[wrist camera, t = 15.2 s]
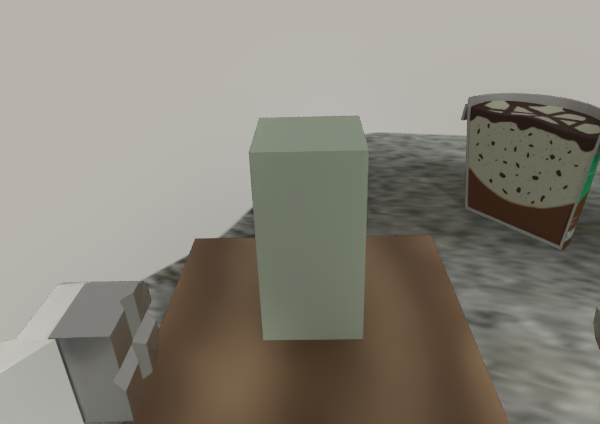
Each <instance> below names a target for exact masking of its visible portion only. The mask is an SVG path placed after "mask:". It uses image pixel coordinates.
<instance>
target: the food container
mask: <svg viewBox="0 0 600 424" xmlns="http://www.w3.org/2000/svg"><path fill="white" fill-rule="evenodd" d="M466 119H467V147H466V182H465V209H467V210H469V211H471V212H474V213H476V214H478V215H481V216H483V217H485V218H488V219H490V220H492V221H495V222H497V223H499V224H501V225H504V226H506V227H508V228H511V229H513V230H515V231H518V232H520V233H522V234H525V235H527V236H529V237H531V238H534V239H536V240H538V241H541V242H543V243H545V244H548V245H550V246H552V247H555V248H557V249H559V250H563V249H564V248H565V247H567V246H568V245H569V243H570V241H571V238H572V236H573V233H574V230H575V228H576V225H577V222H578V219H579V216H580V214H581V211H582V208H583V205H584V203H585V200H586V197H587V194H588V192H589V189H590V186H591V183H592V181H593V178H594V175H595V172H596V170H597V167H598V164H599V161H600V108H599V107H596V106H593V105H591V104H587V103H584V102H580V101H576V100H572V99H567V98H562V97H555V96H548V95H538V94H521V93H501V94H486V95H479V96H473V97H469V99H468V104H465V108H464V111H463V115H462V118H461V120H466Z"/></svg>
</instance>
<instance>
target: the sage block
mask: <svg viewBox="0 0 600 424" xmlns="http://www.w3.org/2000/svg"><path fill="white" fill-rule="evenodd" d="M249 160H250V173H251V187H252V199H253V213H254V226H255V239H256V252H257V265H258V279H259V292H260V305H261V318H262V331H263V340H333V339H363V320H364V288H365V256H366V224H367V192H368V160H369V149H368V146H367V142H366V139H365V135H364V131H363V128H362V124H361V121H360V117H359V116H325V117H284V118H283V117H280V118H259V121H258V124H257V127H256V131H255V134H254V137H253V141H252V144H251V147H250V151H249Z"/></svg>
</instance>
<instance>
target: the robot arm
mask: <svg viewBox="0 0 600 424" xmlns="http://www.w3.org/2000/svg"><path fill="white" fill-rule="evenodd" d="M150 303H151V297H150V293H149V290H148V286H147V285H146V284H145V283H144V282H143V281H119V282H70V283H62V284H59V285H57V286H56V287H55V288H54V290H53V291H52V292H51V293H50V295H49V296H48V297H47V299H46V300H45V301H44V303H43V304H42V305H41V307H40V308H39V309H38V310H37V312H36V313H35V314H34V316H33V317H32V318H31V320H30V321H29V322H28V324H27V325H26V326H25V328H24V329H23V330H22V331H21V333H20V334H19V335H18V337H17V338H16V339H15V340H6V341H4V342H2V343H1V344H0V424H84V423H99V422H120V421H134V420H135V417H136V414H137V412H138V409H139V407H140V404H141V402H142V399H143V396H144V394H145V391H146V390H145V386H144V382H143V379H144V378H146V377H147V376H148V375H149V374H151V373H152V372H153V370H154V367H155V364H156V362H157V357H158V350H159V333H158V327H157V323H156V320H155V319H154V318H153V317H152V316H151V315H150V314H148V313H147V309H148V307H149V305H150ZM594 331H595V338H596V341H597V344H598V346H599V349H600V304H599V305H598V306H597V307H596V312H595V318H594Z"/></svg>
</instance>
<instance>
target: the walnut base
mask: <svg viewBox="0 0 600 424" xmlns="http://www.w3.org/2000/svg"><path fill="white" fill-rule="evenodd" d="M158 333H159V350H158V357H157V362H156V364H155V367H154V370H153V372H152V373H151V374H149V375H148V376H147V377H146V378H144V379H143V382H144V386H145V390H146V391H145V394H144V396H143V399H142V402H141V404H140V407H139V409H138V412H137V414H136V417H135V420H134V421H123V422H122V424H509V422H508V420H507V417H506V415H505V413H504V410H503V408H502V405H501V403H500V400H499V398H498V396H497V393H496V391H495V388H494V386H493V384H492V381H491V379H490V376H489V374H488V371H487V369H486V367H485V364H484V362H483V359H482V357H481V355H480V352H479V350H478V347H477V345H476V342H475V340H474V338H473V335H472V333H471V330H470V328H469V326H468V323H467V321H466V318H465V316H464V314H463V311H462V309H461V306H460V304H459V301H458V299H457V297H456V294H455V292H454V289H453V287H452V285H451V282H450V280H449V277H448V275H447V272H446V270H445V268H444V265H443V263H442V260H441V258H440V256H439V253H438V251H437V248H436V246H435V243H434V241H433V239H432V236H431V235H402V236H366V256H365V288H364V320H363V339H333V340H263V331H262V318H261V305H260V292H259V279H258V265H257V252H256V239H255V238H211V239H195V241H194V243H193V246H192V249H191V251H190V253H189V256H188V258H187V261H186V263H185V266H184V269H183V271H182V274H181V276H180V279H179V281H178V284H177V286H176V289H175V291H174V294H173V296H172V299H171V301H170V304H169V306H168V309H167V311H166V314H165V316H164V319H163V322H162V324H161V327H160V329H159V332H158Z"/></svg>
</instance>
